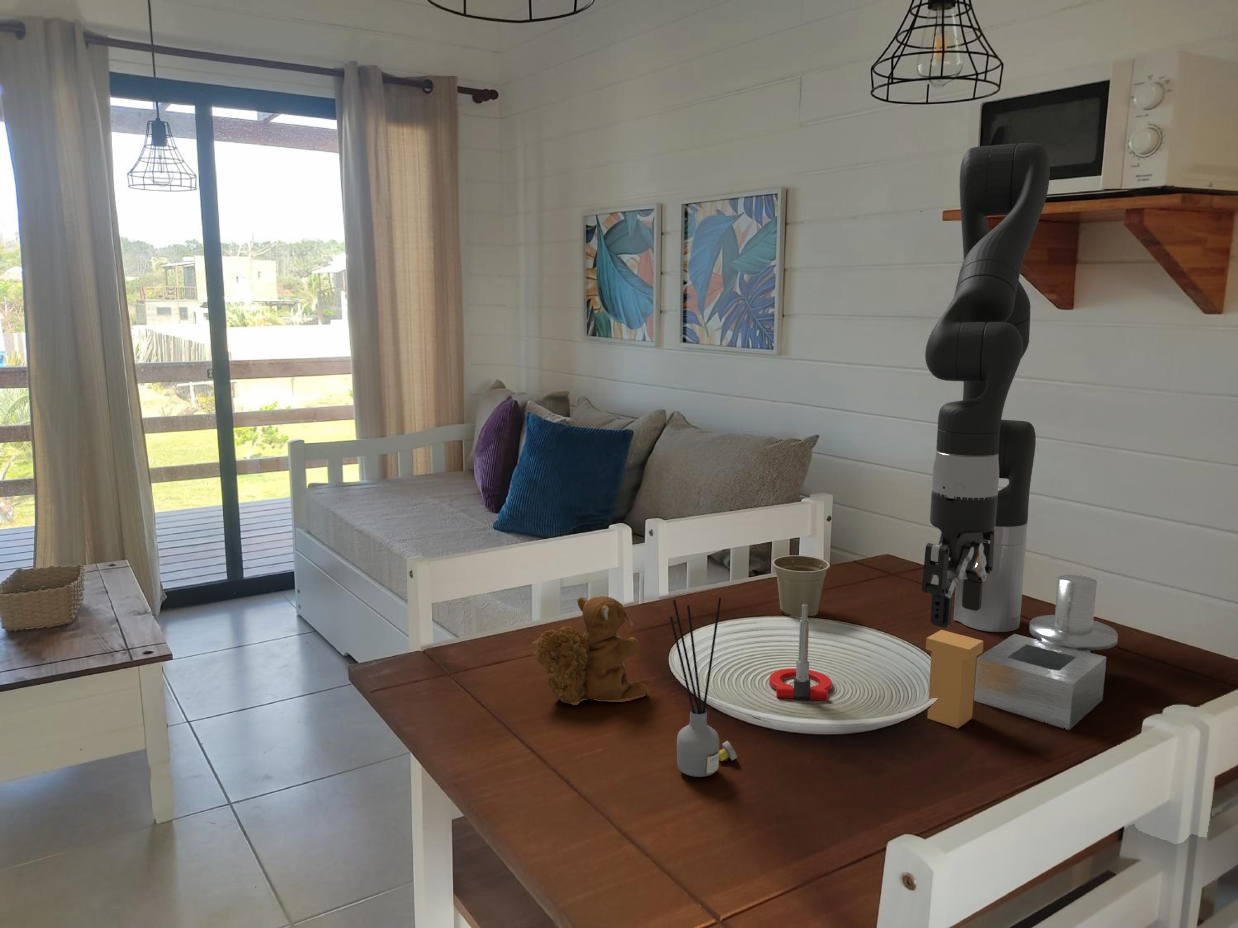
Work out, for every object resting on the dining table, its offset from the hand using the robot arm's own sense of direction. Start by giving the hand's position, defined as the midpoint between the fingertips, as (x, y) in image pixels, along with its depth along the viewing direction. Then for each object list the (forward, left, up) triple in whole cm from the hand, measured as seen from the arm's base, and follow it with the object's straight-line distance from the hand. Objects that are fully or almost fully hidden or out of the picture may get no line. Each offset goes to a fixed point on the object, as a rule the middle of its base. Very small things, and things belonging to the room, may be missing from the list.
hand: (956, 617), depth 115 cm
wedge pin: (0, 0, -14) cm, 13 cm away
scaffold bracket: (+6, +18, -13) cm, 24 cm away
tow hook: (-19, -5, -14) cm, 24 cm away
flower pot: (-36, +20, -14) cm, 43 cm away
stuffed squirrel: (-38, -27, -14) cm, 48 cm away
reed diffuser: (-15, -32, -14) cm, 38 cm away
